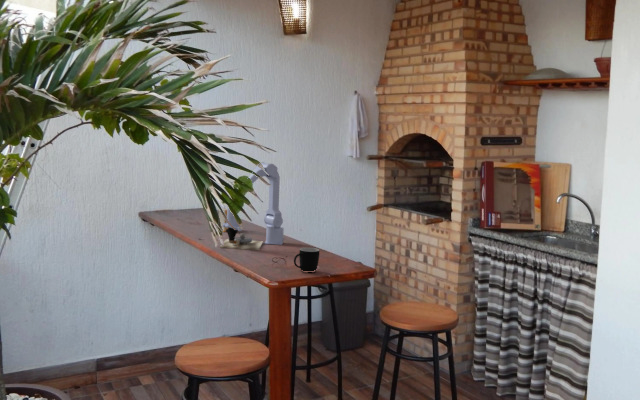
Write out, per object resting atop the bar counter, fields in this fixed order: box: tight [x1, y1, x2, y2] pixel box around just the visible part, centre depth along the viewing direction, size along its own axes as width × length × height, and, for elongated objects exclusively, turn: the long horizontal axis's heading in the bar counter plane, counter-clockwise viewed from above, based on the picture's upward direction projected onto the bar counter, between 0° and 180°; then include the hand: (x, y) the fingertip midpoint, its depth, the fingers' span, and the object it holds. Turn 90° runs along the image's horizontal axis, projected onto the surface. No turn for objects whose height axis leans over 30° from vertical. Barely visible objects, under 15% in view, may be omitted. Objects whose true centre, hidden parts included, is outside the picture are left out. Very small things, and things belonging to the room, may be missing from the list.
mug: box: [293, 247, 320, 271], centre depth 308 cm, size 12×9×10 cm
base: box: [219, 232, 264, 251], centre depth 362 cm, size 20×20×6 cm
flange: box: [230, 236, 253, 244], centre depth 360 cm, size 14×10×1 cm
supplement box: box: [218, 208, 228, 233], centre depth 402 cm, size 8×5×13 cm, turn 143°
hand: (231, 242), depth 357 cm, fingers closed, pressing on flange
